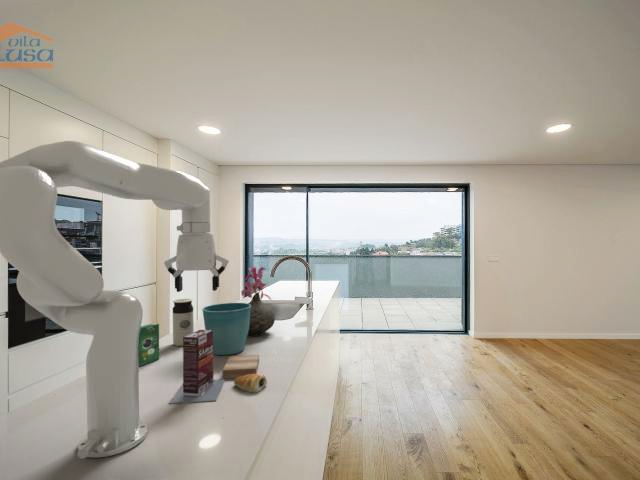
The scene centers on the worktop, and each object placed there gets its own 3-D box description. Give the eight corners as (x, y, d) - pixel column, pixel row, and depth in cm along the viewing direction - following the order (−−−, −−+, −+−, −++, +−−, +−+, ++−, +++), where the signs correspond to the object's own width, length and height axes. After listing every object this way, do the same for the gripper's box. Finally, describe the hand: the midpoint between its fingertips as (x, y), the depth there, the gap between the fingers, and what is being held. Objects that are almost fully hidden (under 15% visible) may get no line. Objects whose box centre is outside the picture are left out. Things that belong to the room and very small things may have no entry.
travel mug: (174, 341, 148) (173, 299, 148) (194, 339, 151) (193, 297, 151) (172, 347, 141) (171, 302, 141) (193, 345, 143) (192, 300, 143)
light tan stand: (256, 376, 108) (255, 368, 108) (222, 378, 107) (222, 370, 107) (259, 362, 121) (259, 354, 121) (229, 363, 120) (229, 356, 120)
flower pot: (193, 357, 128) (192, 310, 128) (218, 342, 145) (217, 301, 145) (238, 360, 124) (237, 312, 124) (259, 345, 141) (258, 303, 141)
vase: (230, 337, 153) (228, 268, 153) (249, 327, 170) (248, 265, 170) (265, 340, 149) (263, 269, 149) (281, 329, 165) (280, 265, 165)
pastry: (228, 389, 100) (228, 375, 100) (242, 380, 106) (242, 368, 106) (256, 394, 96) (256, 380, 96) (269, 385, 102) (269, 372, 103)
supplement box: (198, 397, 94) (197, 337, 94) (182, 396, 95) (181, 337, 95) (214, 384, 102) (213, 329, 102) (199, 383, 103) (198, 329, 103)
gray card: (216, 401, 92) (216, 399, 92) (168, 403, 91) (168, 402, 91) (225, 380, 106) (225, 379, 106) (184, 382, 105) (184, 381, 105)
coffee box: (154, 358, 127) (153, 322, 127) (160, 359, 126) (159, 322, 126) (134, 365, 120) (134, 327, 120) (140, 366, 119) (140, 328, 119)
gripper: (159, 229, 94) (160, 293, 94) (225, 228, 96) (226, 291, 96) (168, 230, 102) (169, 289, 102) (229, 229, 103) (230, 288, 103)
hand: (197, 290), depth 99 cm, fingers open, 9 cm apart
